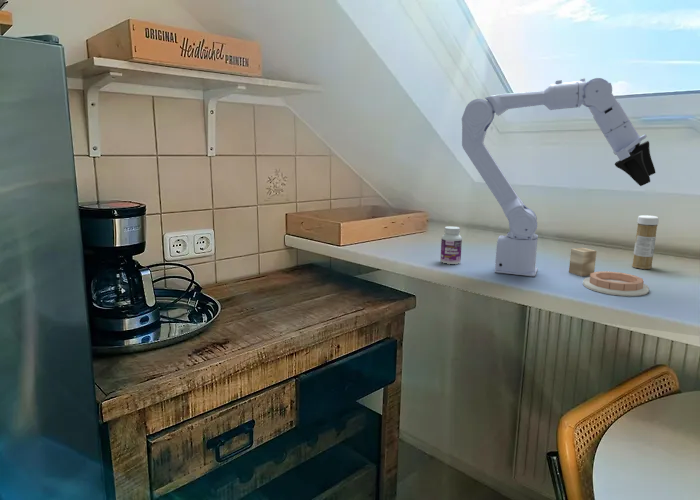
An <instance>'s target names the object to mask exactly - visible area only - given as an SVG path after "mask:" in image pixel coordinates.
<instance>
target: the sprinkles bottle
mask: <svg viewBox="0 0 700 500" xmlns="http://www.w3.org/2000/svg"><path fill="white" fill-rule="evenodd" d="M659 219H660V218H659V217H658V216H656V215H650V214H649V215H647V214H643V215H638V216H637V222H636V223H637V228H636V236H635V242H634V248H633V259H632V264H631V266H632V267H633V268H635V269H640V270H651V269H652V268H653V259H654V252H655V247H656V239H657V230H658V229H657V228H658V225H659Z"/></svg>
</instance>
